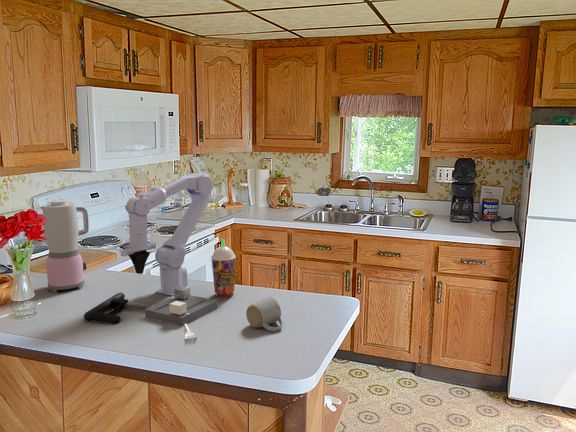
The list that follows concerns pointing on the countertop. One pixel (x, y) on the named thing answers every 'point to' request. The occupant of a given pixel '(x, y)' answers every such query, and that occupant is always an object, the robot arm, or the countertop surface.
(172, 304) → the block
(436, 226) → the countertop surface
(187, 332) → the fork
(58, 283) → the blender
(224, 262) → the smoothie
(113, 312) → the gun
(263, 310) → the ceramic mug
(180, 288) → the steel fader
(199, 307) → the gray slider board
